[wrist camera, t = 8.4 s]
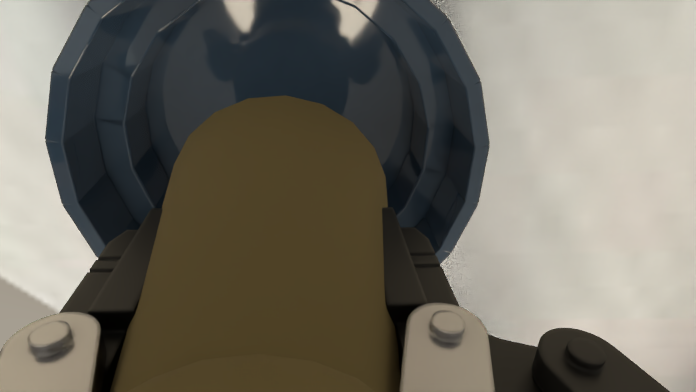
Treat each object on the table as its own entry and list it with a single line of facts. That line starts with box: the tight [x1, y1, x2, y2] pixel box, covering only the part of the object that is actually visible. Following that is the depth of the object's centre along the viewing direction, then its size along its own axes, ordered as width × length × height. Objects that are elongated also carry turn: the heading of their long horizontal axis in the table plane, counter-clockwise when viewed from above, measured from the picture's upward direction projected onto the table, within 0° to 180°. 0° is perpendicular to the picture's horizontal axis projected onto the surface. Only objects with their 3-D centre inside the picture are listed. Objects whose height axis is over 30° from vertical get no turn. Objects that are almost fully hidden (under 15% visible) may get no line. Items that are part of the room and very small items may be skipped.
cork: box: [110, 95, 400, 392], centre depth 8 cm, size 6×6×11 cm
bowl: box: [45, 0, 489, 264], centre depth 17 cm, size 13×13×6 cm
